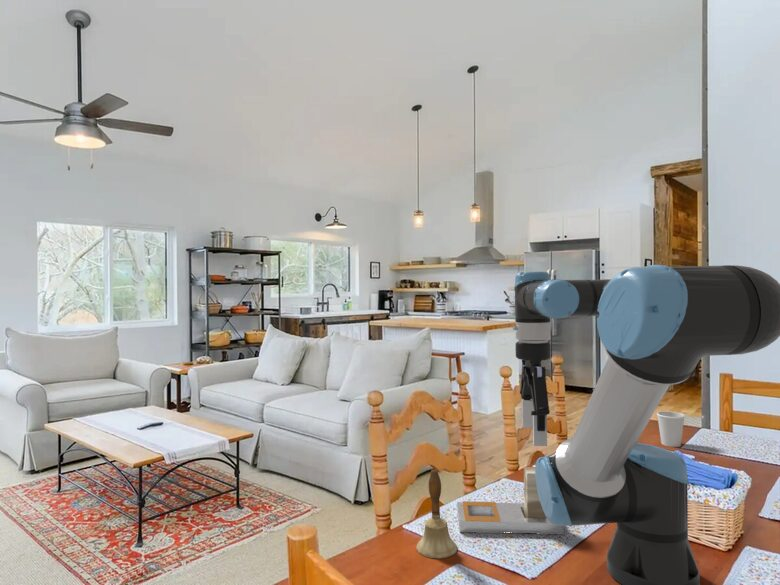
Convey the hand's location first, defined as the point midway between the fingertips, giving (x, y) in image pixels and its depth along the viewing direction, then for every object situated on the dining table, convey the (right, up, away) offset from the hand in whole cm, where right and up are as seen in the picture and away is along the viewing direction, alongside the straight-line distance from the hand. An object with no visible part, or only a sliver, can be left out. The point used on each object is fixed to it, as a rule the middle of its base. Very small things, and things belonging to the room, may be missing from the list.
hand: (533, 436), depth 117 cm
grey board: (-6, -20, +1) cm, 20 cm away
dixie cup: (+61, -18, +56) cm, 85 cm away
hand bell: (-23, -20, -10) cm, 32 cm away
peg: (0, -20, 0) cm, 20 cm away
